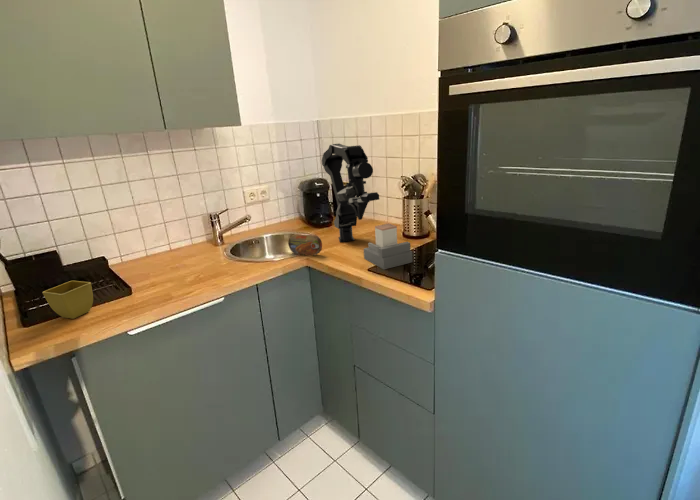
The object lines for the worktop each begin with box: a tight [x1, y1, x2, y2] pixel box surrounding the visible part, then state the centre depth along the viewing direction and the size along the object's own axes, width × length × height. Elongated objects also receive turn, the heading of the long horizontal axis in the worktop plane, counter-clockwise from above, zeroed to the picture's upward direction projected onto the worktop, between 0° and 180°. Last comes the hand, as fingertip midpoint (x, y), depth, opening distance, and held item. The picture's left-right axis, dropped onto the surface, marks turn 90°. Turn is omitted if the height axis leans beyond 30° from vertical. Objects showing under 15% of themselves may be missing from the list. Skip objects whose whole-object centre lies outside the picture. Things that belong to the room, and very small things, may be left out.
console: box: [363, 241, 413, 270], centre depth 137 cm, size 14×12×7 cm
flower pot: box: [42, 280, 94, 319], centre depth 110 cm, size 9×9×9 cm
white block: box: [374, 223, 398, 248], centre depth 136 cm, size 5×6×9 cm
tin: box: [287, 233, 323, 256], centre depth 151 cm, size 15×3×8 cm, turn 62°
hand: (360, 219), depth 148 cm, fingers closed
